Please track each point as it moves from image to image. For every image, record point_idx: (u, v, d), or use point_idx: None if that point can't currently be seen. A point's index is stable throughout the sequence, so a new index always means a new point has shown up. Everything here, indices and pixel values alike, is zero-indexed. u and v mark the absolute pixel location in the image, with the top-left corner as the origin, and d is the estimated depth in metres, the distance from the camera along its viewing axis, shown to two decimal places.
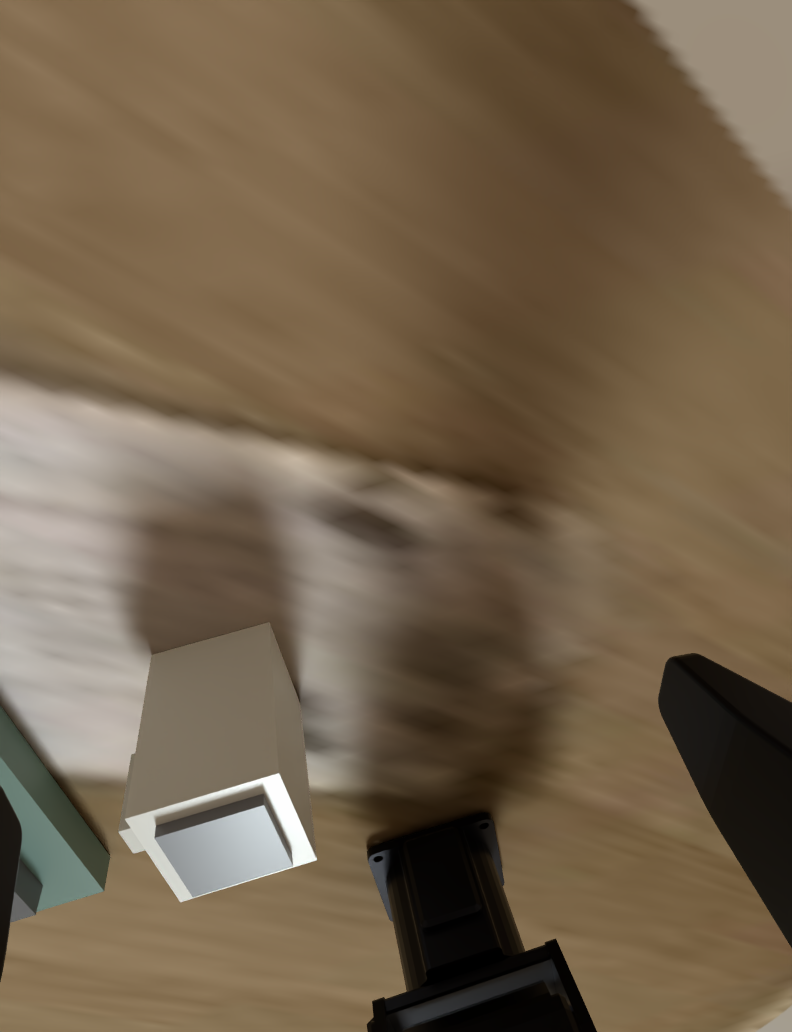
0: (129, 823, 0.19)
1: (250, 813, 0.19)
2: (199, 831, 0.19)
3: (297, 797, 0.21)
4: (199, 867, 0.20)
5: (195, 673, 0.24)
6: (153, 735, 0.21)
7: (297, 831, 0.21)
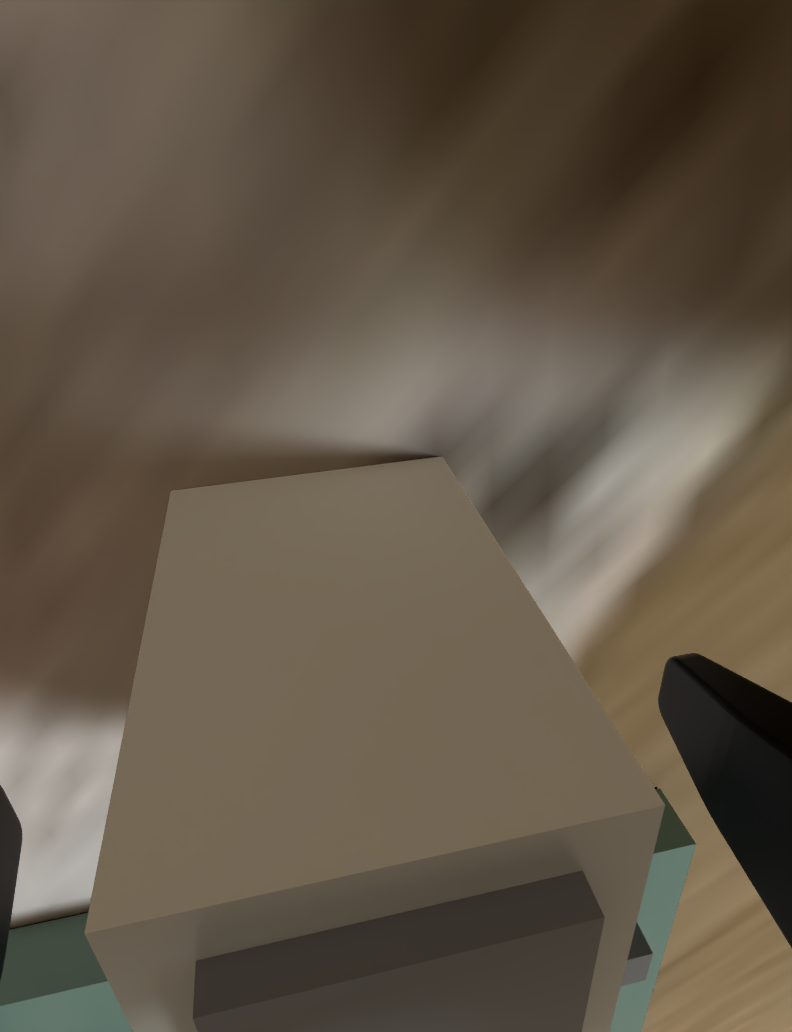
0: None
1: None
2: None
3: (381, 776, 0.06)
4: None
5: None
6: None
7: (463, 864, 0.05)
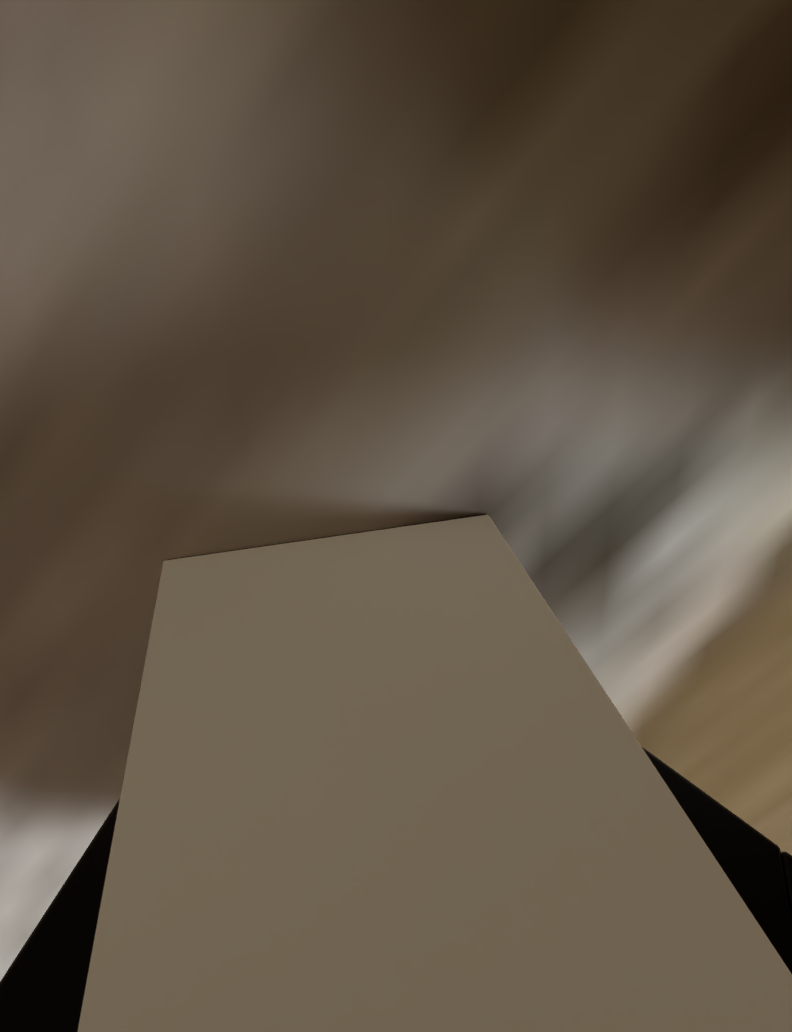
0: None
1: None
2: None
3: None
4: None
5: None
6: None
7: None
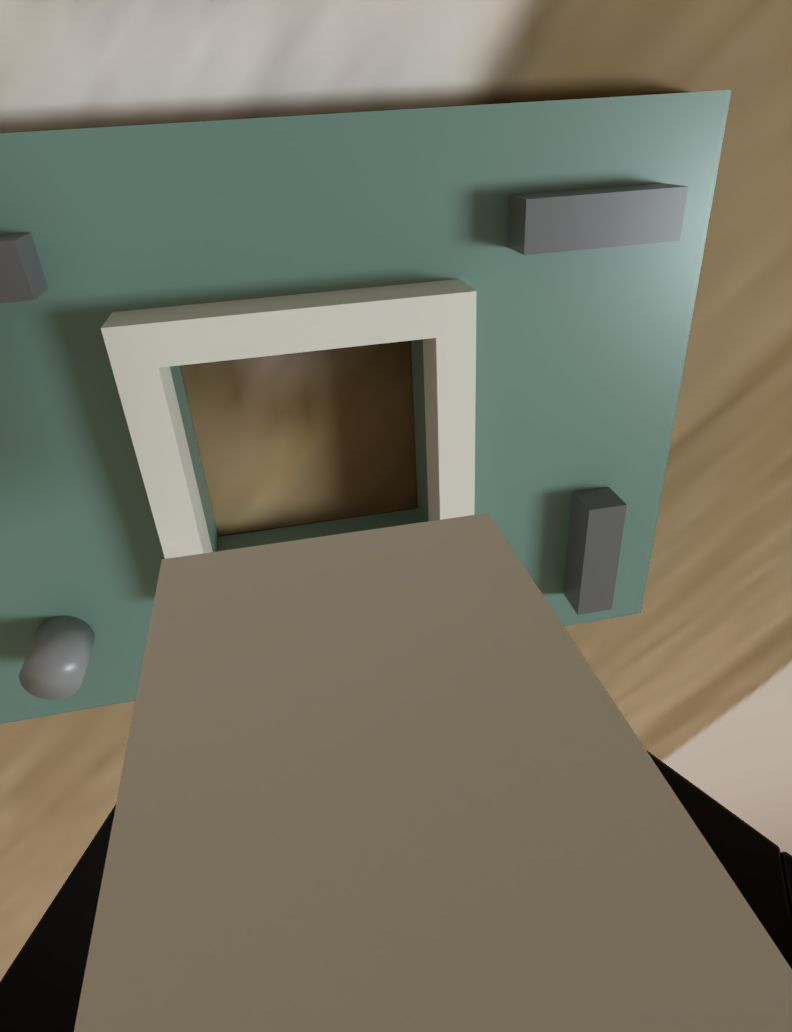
0: None
1: None
2: None
3: None
4: None
5: None
6: None
7: None
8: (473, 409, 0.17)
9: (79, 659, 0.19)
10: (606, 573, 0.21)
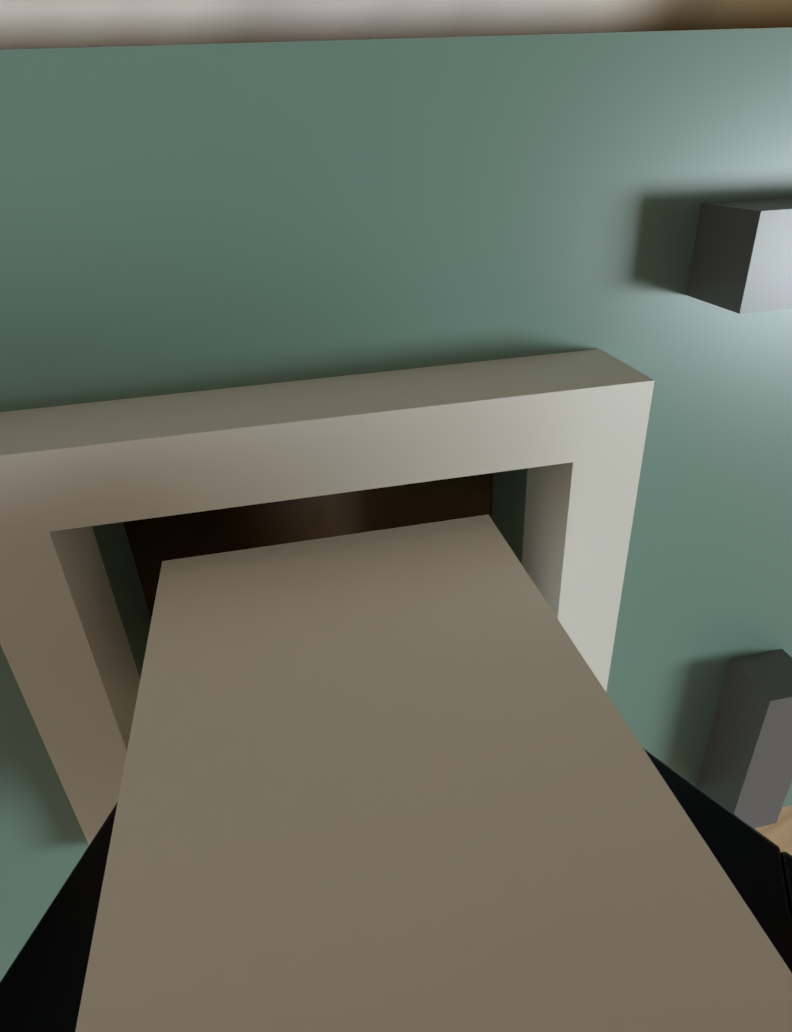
0: None
1: None
2: None
3: None
4: None
5: None
6: None
7: None
8: (621, 573, 0.10)
9: None
10: (777, 779, 0.14)
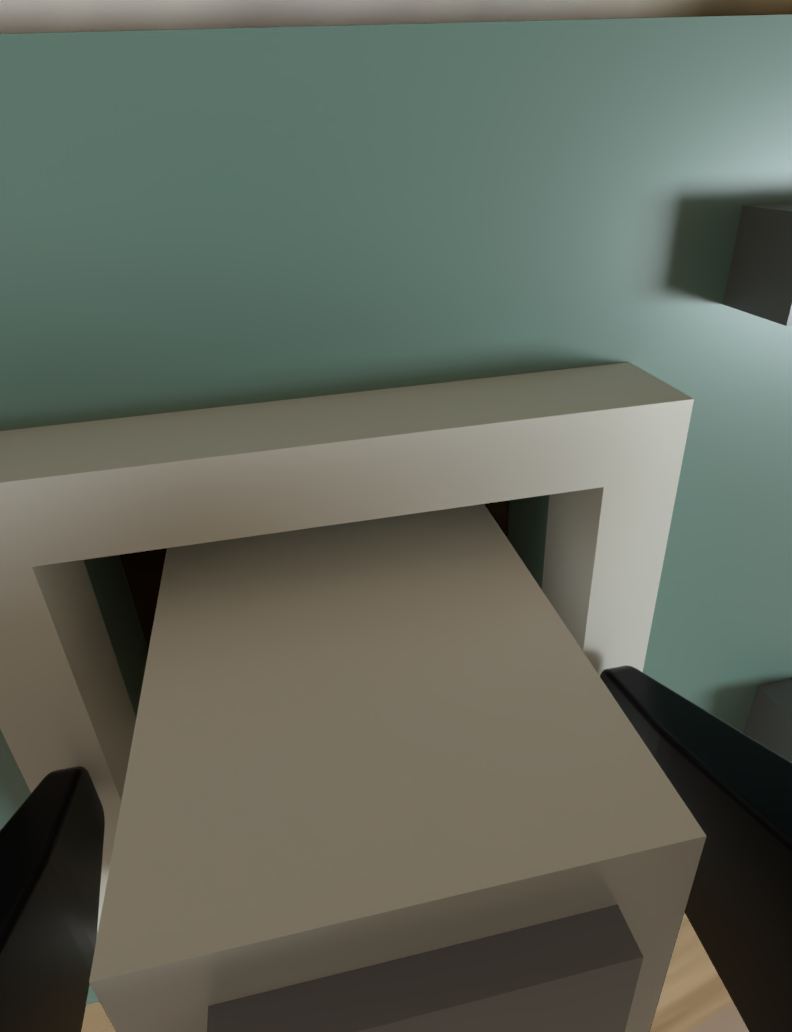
0: None
1: None
2: None
3: (401, 805, 0.05)
4: None
5: None
6: None
7: (492, 901, 0.05)
8: (651, 604, 0.09)
9: None
10: None
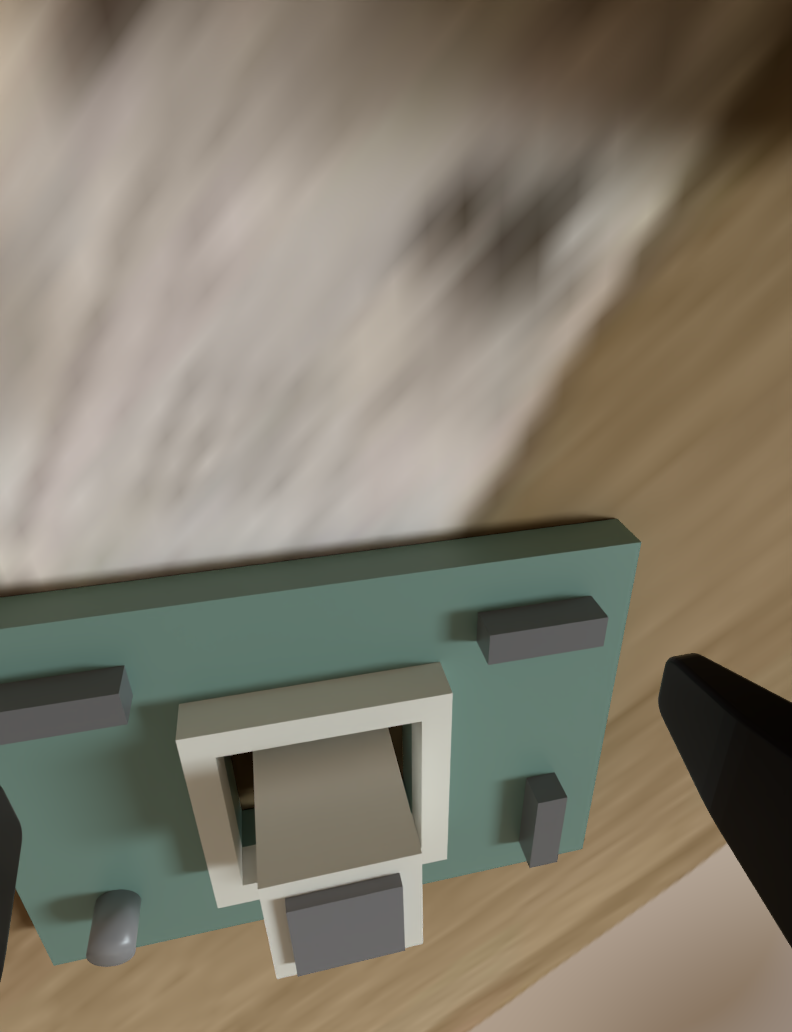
0: (285, 976, 0.20)
1: (294, 920, 0.18)
2: (303, 951, 0.19)
3: (339, 843, 0.19)
4: (360, 948, 0.19)
5: None
6: None
7: (361, 870, 0.18)
8: (449, 757, 0.23)
9: (133, 934, 0.24)
10: (552, 840, 0.27)
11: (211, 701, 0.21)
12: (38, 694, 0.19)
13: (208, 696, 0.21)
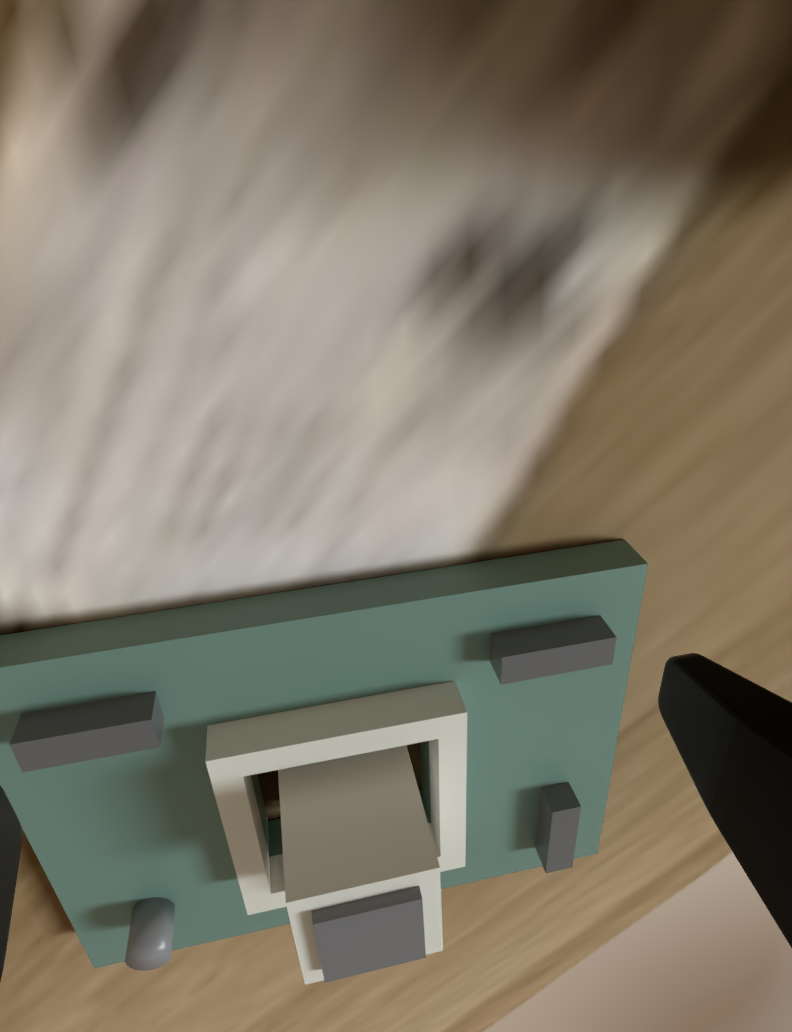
0: (312, 981, 0.21)
1: (321, 932, 0.19)
2: (330, 959, 0.20)
3: (361, 858, 0.20)
4: (383, 956, 0.20)
5: None
6: None
7: (383, 884, 0.19)
8: (465, 772, 0.24)
9: (168, 940, 0.25)
10: (567, 846, 0.28)
11: (238, 722, 0.22)
12: (77, 721, 0.20)
13: (235, 718, 0.22)
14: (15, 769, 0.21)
